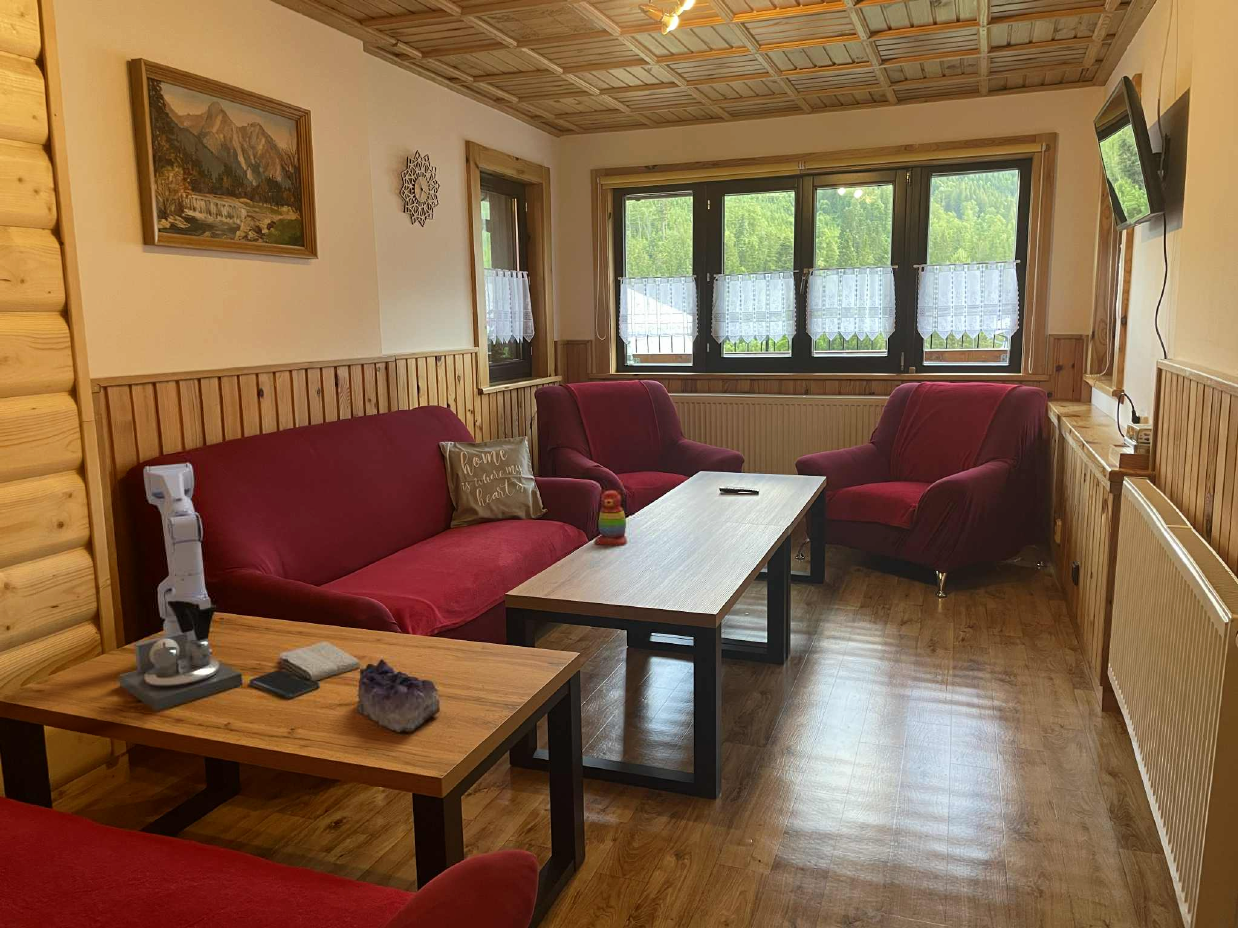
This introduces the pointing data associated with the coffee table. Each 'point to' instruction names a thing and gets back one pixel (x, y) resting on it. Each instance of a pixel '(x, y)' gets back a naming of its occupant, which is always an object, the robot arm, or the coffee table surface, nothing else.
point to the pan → (182, 674)
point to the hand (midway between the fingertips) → (194, 635)
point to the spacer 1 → (166, 662)
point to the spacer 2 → (198, 653)
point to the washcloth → (318, 661)
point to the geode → (396, 698)
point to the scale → (173, 694)
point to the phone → (284, 684)
